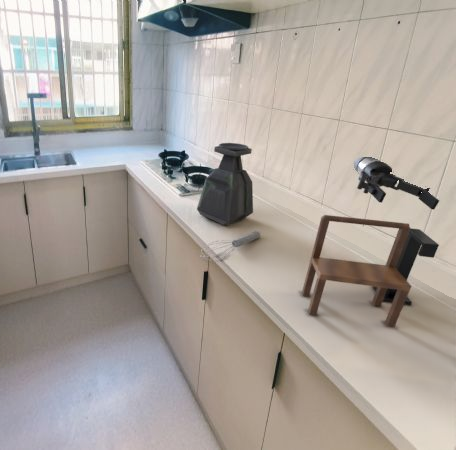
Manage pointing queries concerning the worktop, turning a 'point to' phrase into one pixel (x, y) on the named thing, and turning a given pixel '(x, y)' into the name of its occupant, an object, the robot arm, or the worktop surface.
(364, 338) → the worktop surface
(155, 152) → the worktop surface
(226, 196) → the dark grey vase
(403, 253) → the black pedestal stand
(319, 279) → the chair
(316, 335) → the worktop surface
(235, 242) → the kitchen whisk
